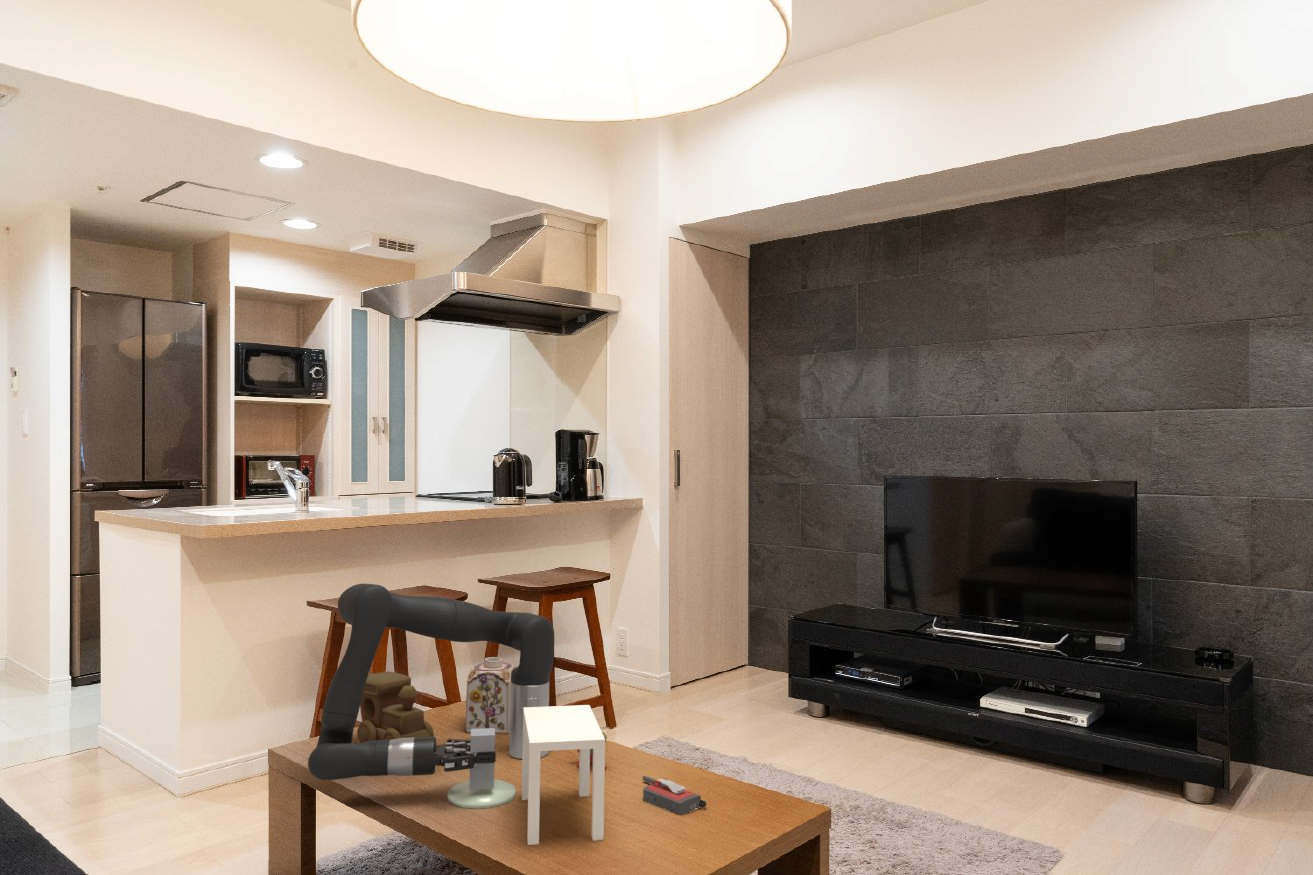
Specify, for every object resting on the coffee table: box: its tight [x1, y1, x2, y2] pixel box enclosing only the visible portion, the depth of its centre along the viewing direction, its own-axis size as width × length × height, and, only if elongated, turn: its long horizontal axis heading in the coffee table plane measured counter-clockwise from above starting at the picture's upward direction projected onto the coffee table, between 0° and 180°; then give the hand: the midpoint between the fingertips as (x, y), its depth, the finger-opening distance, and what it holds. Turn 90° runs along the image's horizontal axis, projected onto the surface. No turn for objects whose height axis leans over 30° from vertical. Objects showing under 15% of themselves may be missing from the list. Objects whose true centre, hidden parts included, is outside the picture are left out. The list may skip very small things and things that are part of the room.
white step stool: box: [521, 704, 606, 846], centre depth 179 cm, size 14×24×19 cm, turn 11°
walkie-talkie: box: [642, 775, 707, 816], centre depth 190 cm, size 9×4×20 cm
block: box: [469, 728, 496, 790], centre depth 189 cm, size 5×5×11 cm
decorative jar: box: [465, 656, 517, 735], centre depth 238 cm, size 12×12×18 cm
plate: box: [447, 779, 516, 810], centre depth 189 cm, size 14×14×1 cm
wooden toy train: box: [356, 671, 435, 743], centre depth 219 cm, size 20×11×17 cm, turn 50°
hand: (495, 752), depth 190 cm, fingers closed on block, 5 cm apart
